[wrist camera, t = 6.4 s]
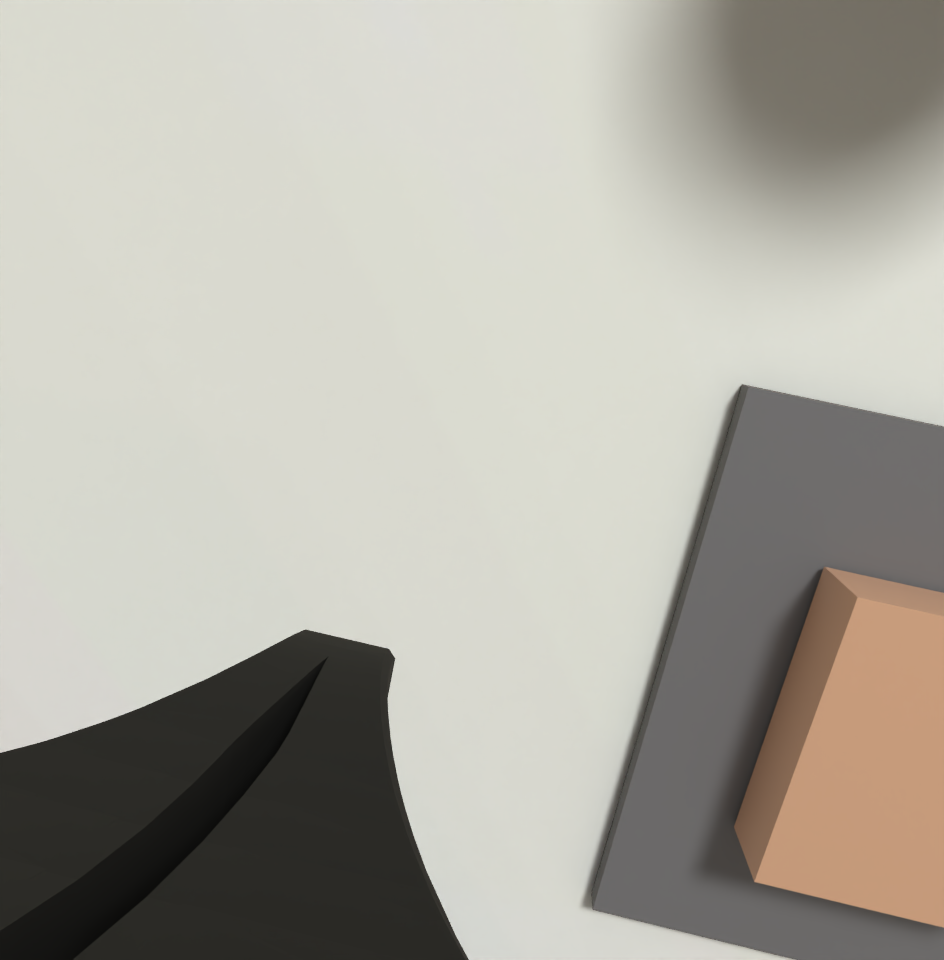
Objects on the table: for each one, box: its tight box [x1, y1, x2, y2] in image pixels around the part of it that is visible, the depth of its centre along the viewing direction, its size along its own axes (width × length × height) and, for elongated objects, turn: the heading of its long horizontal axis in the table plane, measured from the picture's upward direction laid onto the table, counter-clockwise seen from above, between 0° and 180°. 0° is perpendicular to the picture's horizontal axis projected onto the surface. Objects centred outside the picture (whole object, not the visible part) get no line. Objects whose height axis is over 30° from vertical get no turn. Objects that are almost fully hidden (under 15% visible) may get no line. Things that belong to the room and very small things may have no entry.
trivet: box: [592, 384, 944, 960], centre depth 19 cm, size 16×15×1 cm
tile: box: [734, 567, 944, 928], centre depth 18 cm, size 8×2×7 cm
